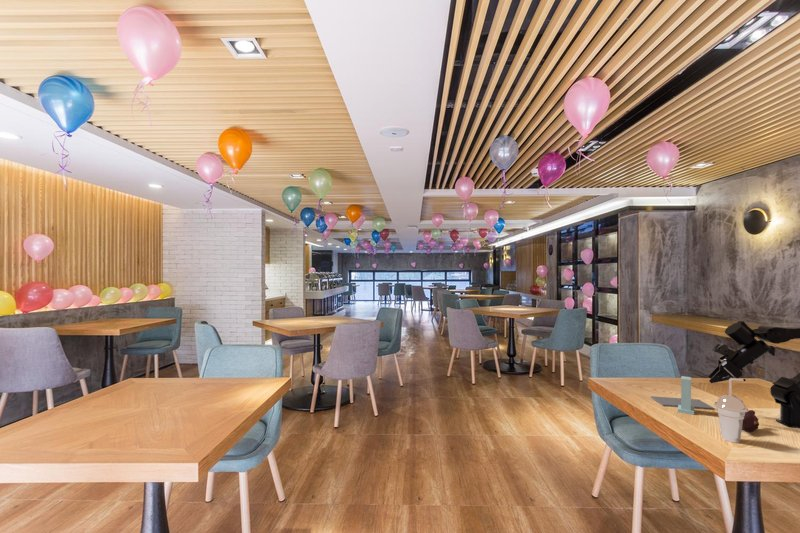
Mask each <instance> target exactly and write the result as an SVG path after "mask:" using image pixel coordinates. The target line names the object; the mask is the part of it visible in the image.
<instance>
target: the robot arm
mask: <svg viewBox="0 0 800 533" xmlns="http://www.w3.org/2000/svg"><path fill="white" fill-rule="evenodd" d="M724 334H726V336H728V337H729V338H730V339H731V340H733V341H734V342H735V343H736V344H737V345H739V346H740V347H736V348H735V349H733V348H731V347H729V345H727V344H725V343H719V342H718V341H715V343H714V345H713V346H712V348H711V349H712V350H711V351H713V352H715V353H718V354H719V355H720V356H719V357H718V359H717V366H716V367H715V368H714V369H713V370H712V372H710V374H708V378H709V383H710V384H715V383H720V382H725V381H729V379H730V378H740V379H741V377H742V376H743V371H744V368H746V367H748V366H749V365H753V364H754V363H755V361H756V360H758V359H760V358H761V357H763V356H764V355H765V354H767V353H769V354H770V355H771V356H773V357H775V356H776V352H775V351H776V348H775V347H774V346H773V345H769V344H768V343H771V344H774V345H775V344H776V345H777V344H782V343H787V342H790V341H791V340H794V339H796V340H797V339H800V326H789V327H783V326H775V325H767V324H766V325H760V326H758V327H757V328H751V327H750V326H749V325H748V324H747V323H746V322H745V321H744V320H743V321H742V320H738V321H737V322H735V323H732V324H730V325H729V326H727V327H726V328H725V330H724ZM756 338H757V339H758V340H757V339H756ZM770 395H771V397H772V398H773V399H774V402H775V404H779V405H780V411H779V412H780V413H779V414H780V415H779V416H780V418H779V419H775V422H777V423H780V424H782V425H783V426H786V427H788V428H789V427H790V428H800V372H798V373H797V374H796V375H795V376H793V377H791V378H788V377H785V376H781V377H779V378H778V380H776V381H775V382H772V386H770Z"/></svg>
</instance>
